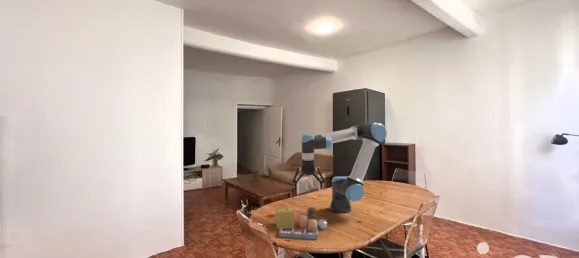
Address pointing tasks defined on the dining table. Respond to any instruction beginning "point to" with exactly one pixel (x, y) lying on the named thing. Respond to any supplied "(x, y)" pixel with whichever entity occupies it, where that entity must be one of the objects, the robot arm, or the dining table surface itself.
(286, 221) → the cheese
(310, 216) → the walnut post
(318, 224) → the chrome metal ball
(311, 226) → the pale pink egg
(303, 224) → the brown egg
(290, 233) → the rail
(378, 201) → the dining table surface
